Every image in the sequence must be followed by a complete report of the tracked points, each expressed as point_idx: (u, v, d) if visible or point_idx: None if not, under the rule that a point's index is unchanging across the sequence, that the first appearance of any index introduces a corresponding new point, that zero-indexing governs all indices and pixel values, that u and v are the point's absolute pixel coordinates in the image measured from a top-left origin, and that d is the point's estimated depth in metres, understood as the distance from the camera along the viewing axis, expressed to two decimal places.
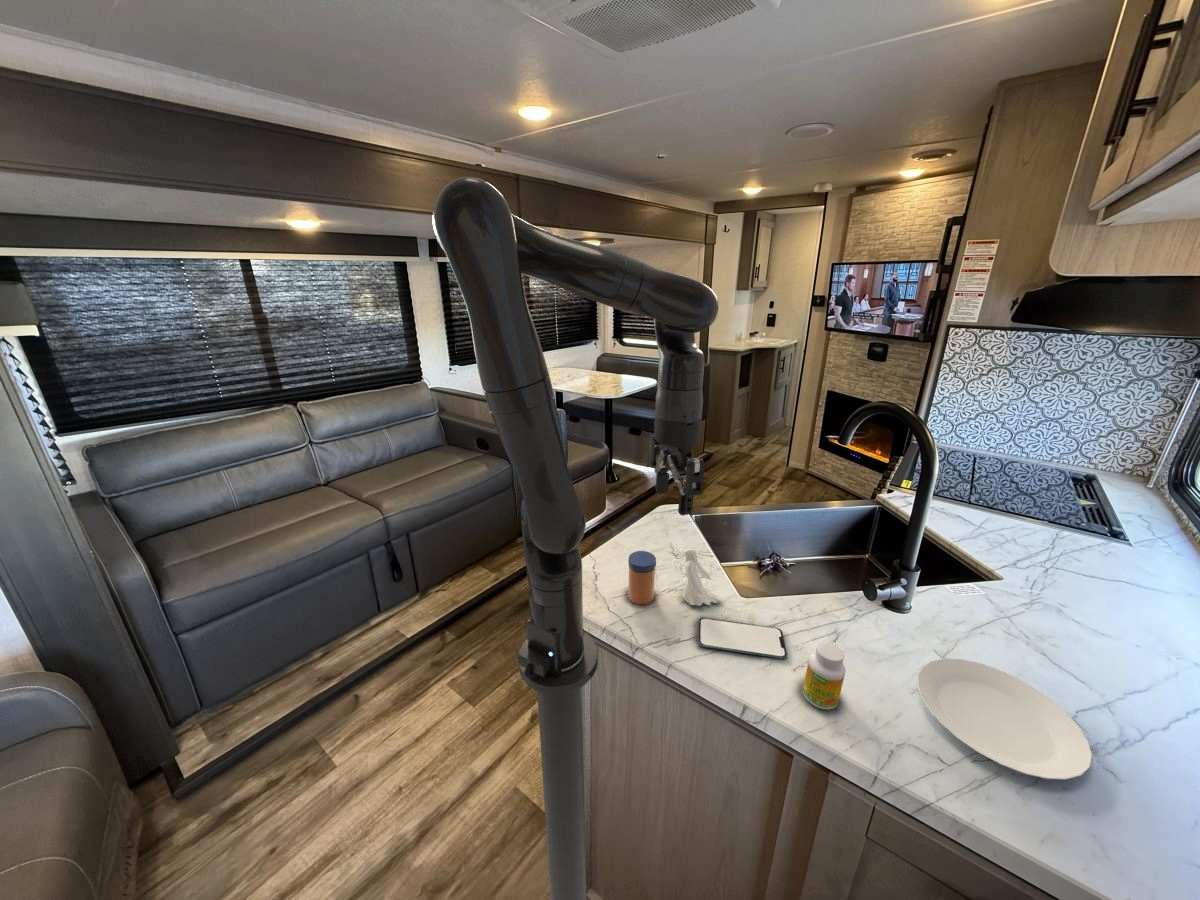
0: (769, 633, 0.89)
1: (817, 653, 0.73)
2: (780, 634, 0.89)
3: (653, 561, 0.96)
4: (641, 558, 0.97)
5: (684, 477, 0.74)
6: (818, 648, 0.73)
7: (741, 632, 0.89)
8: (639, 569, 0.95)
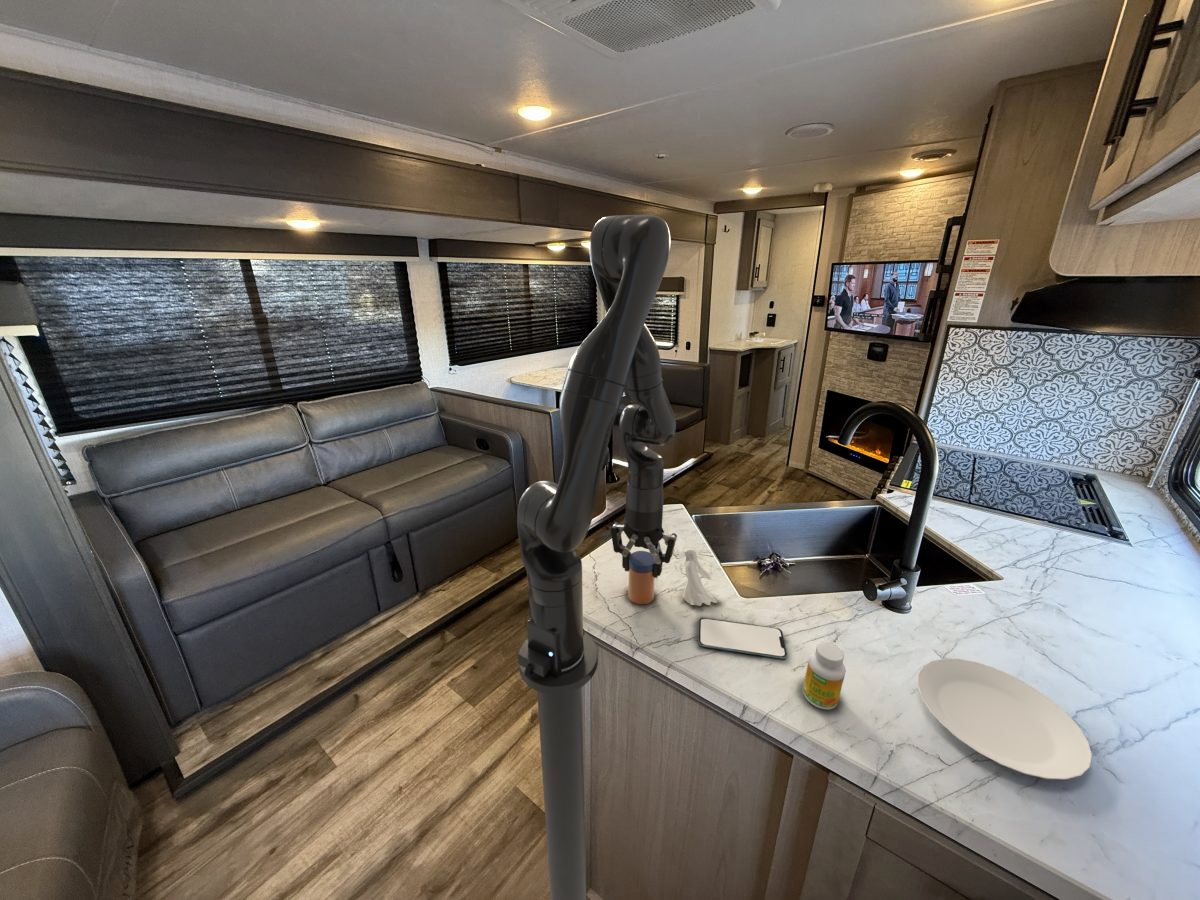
0: (769, 633, 0.89)
1: (817, 653, 0.73)
2: (780, 634, 0.89)
3: (653, 561, 0.96)
4: (641, 558, 0.97)
5: (657, 549, 0.95)
6: (818, 648, 0.73)
7: (741, 632, 0.89)
8: (639, 569, 0.95)
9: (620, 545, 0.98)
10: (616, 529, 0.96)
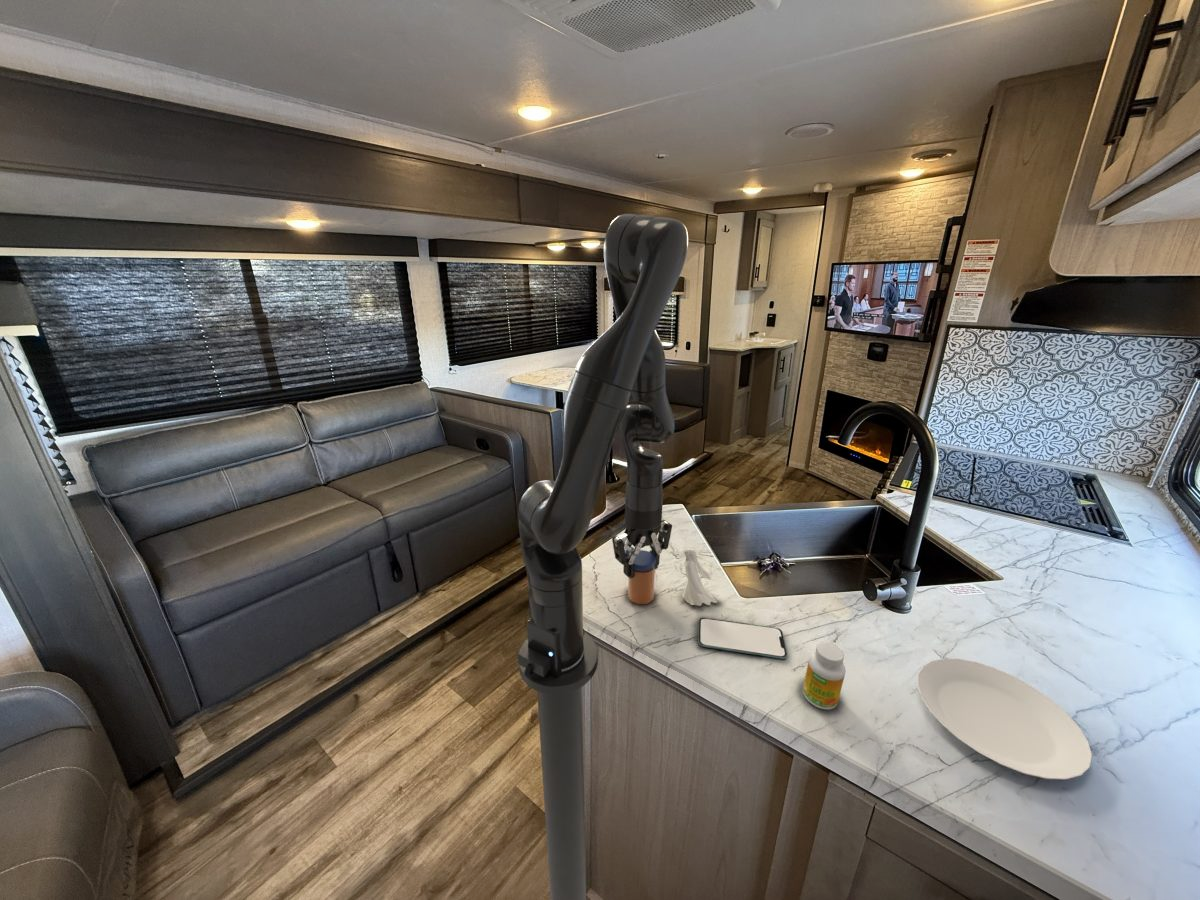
0: (769, 633, 0.89)
1: (817, 653, 0.73)
2: (780, 633, 0.89)
3: (652, 554, 0.98)
4: (641, 558, 0.97)
5: None
6: (818, 648, 0.73)
7: (741, 632, 0.89)
8: (651, 567, 0.95)
9: None
10: None
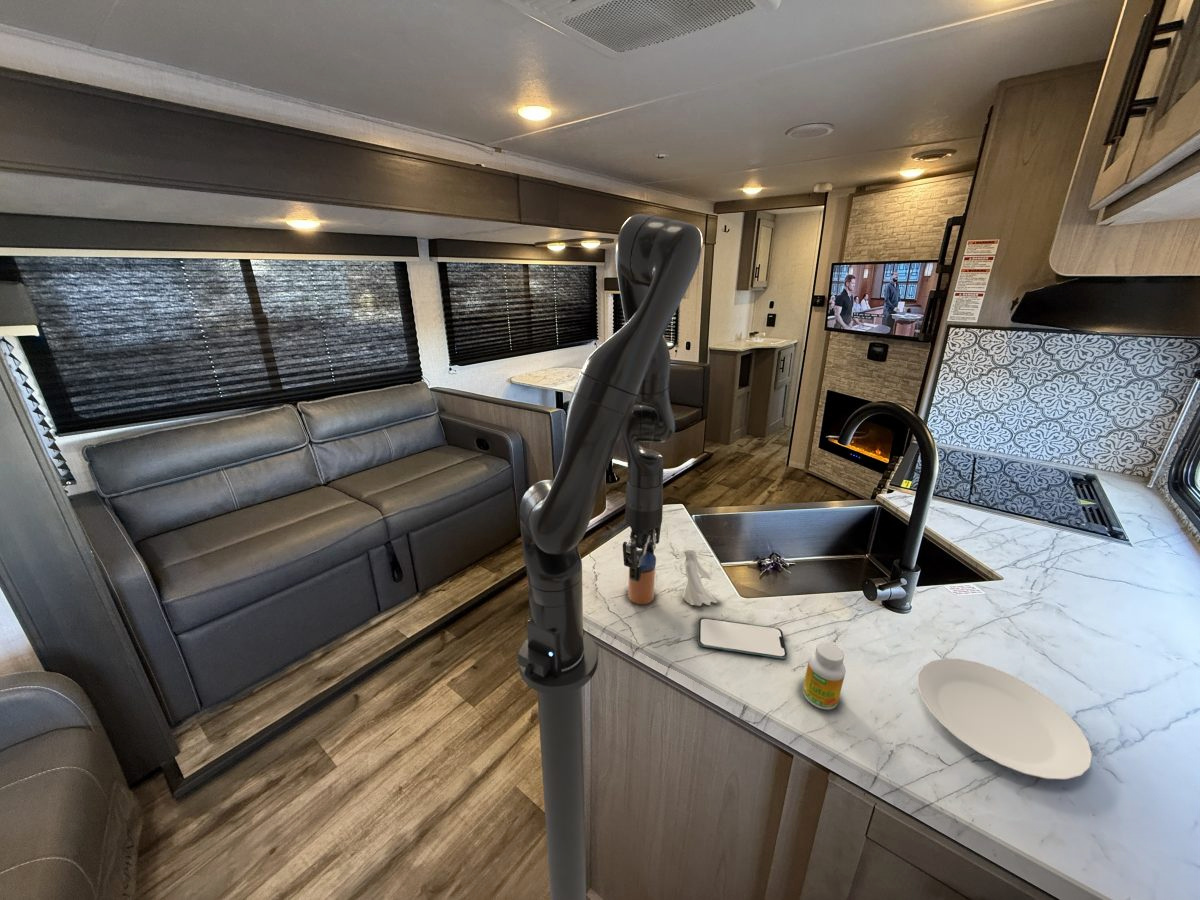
0: (769, 633, 0.89)
1: (817, 653, 0.73)
2: (780, 633, 0.89)
3: (648, 552, 0.99)
4: (642, 558, 0.97)
5: None
6: (818, 648, 0.73)
7: (741, 632, 0.89)
8: (655, 564, 0.96)
9: (630, 561, 0.92)
10: None
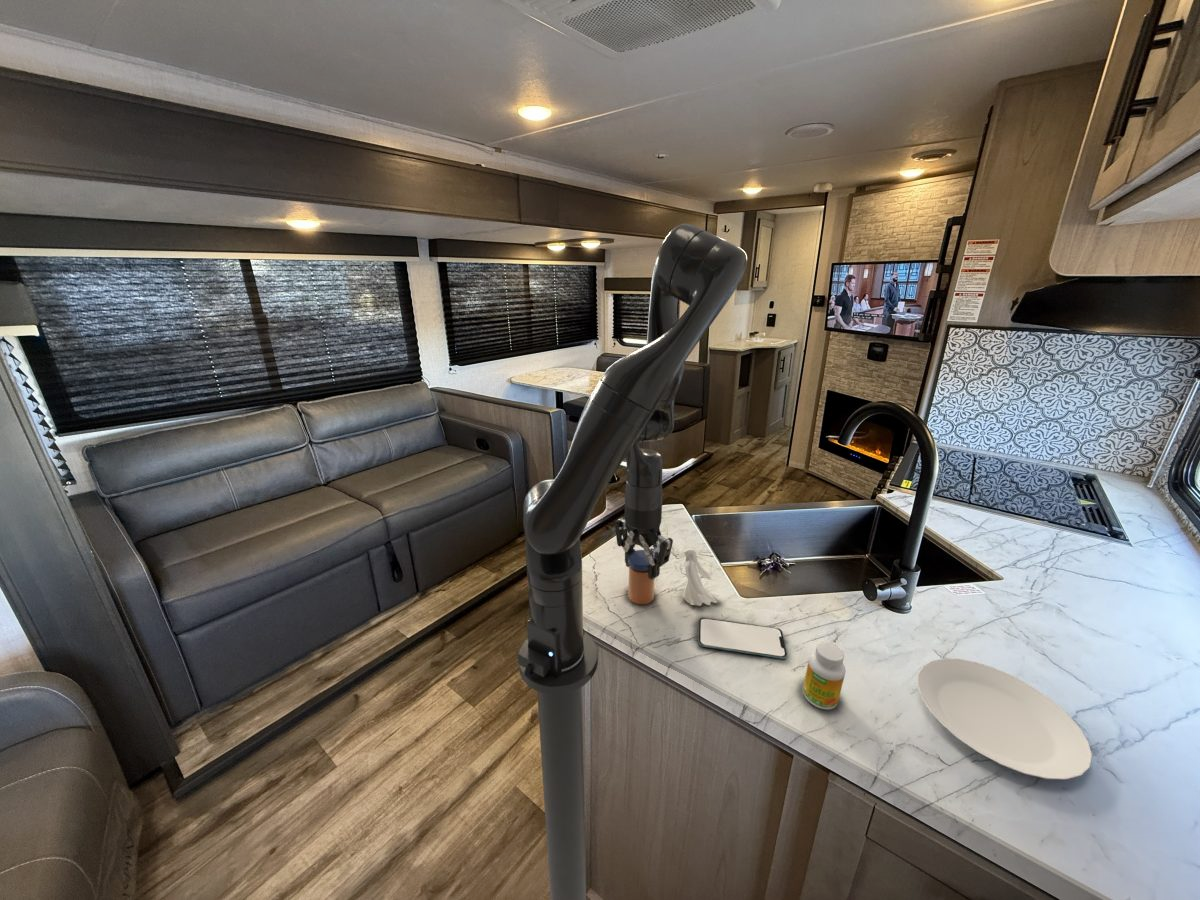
0: (769, 633, 0.89)
1: (817, 653, 0.73)
2: (780, 633, 0.89)
3: (633, 552, 0.99)
4: (642, 557, 0.97)
5: None
6: (818, 648, 0.73)
7: (741, 632, 0.89)
8: None
9: None
10: None
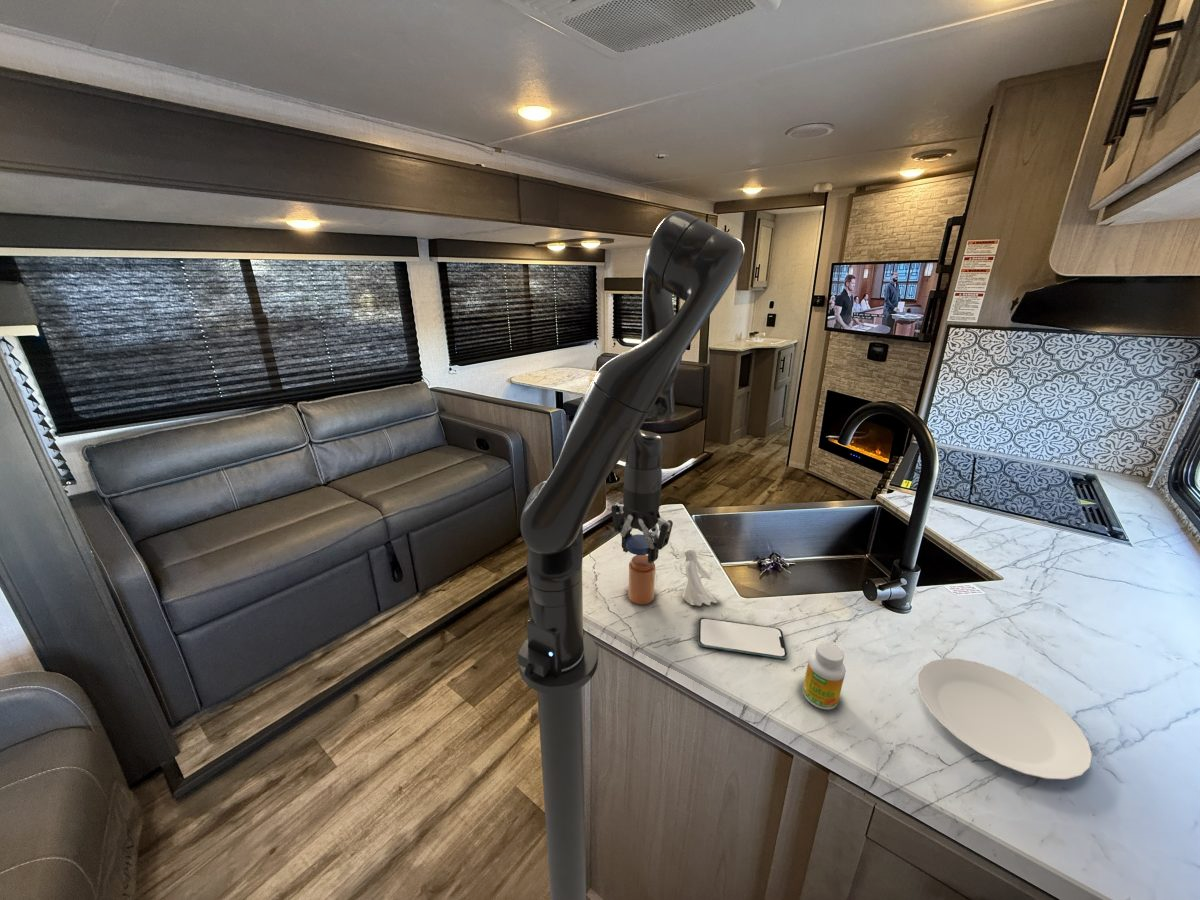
0: (769, 633, 0.89)
1: (817, 653, 0.73)
2: (780, 633, 0.89)
3: (630, 537, 0.98)
4: (640, 541, 0.96)
5: None
6: (818, 648, 0.73)
7: (741, 632, 0.89)
8: None
9: None
10: None
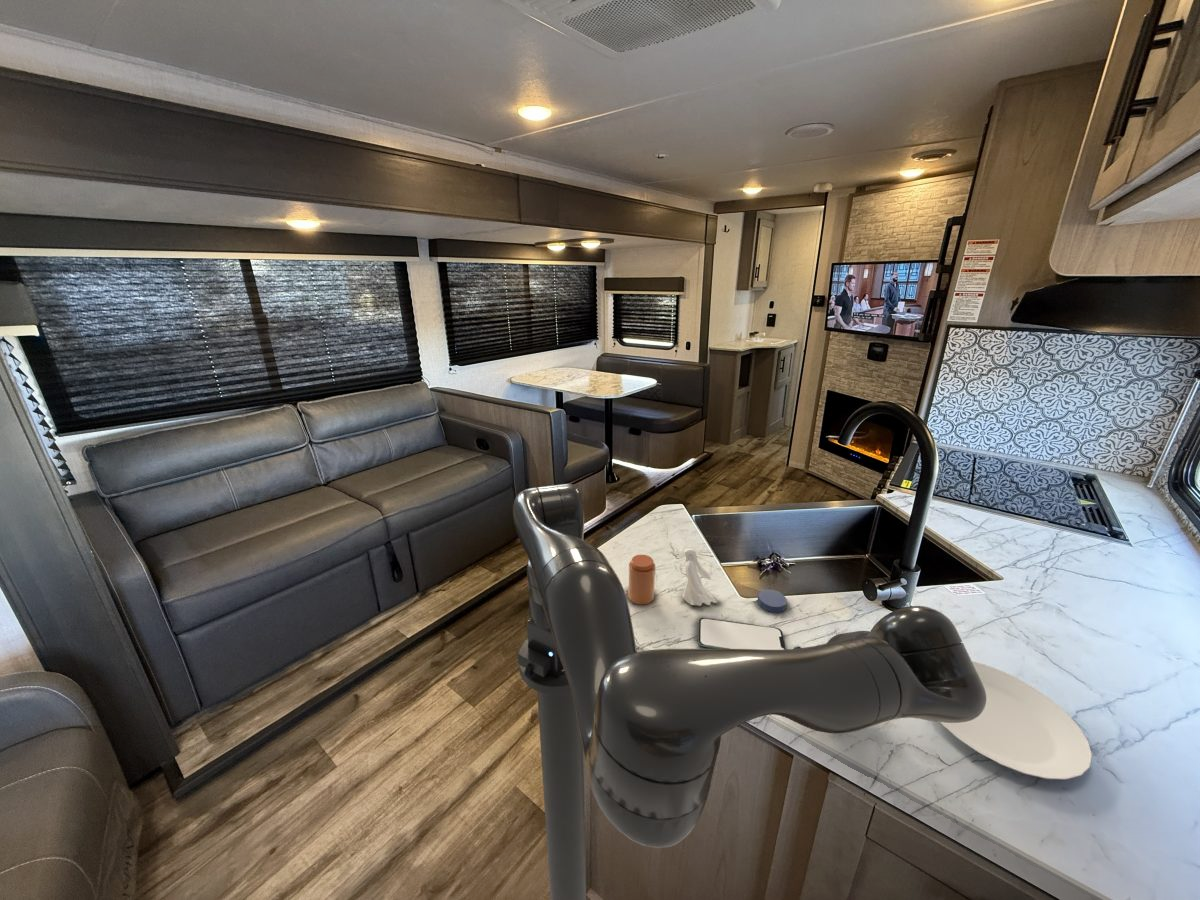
0: (769, 633, 0.89)
1: None
2: (780, 633, 0.89)
3: (761, 592, 0.99)
4: (773, 597, 0.98)
5: None
6: None
7: (741, 632, 0.89)
8: None
9: None
10: None
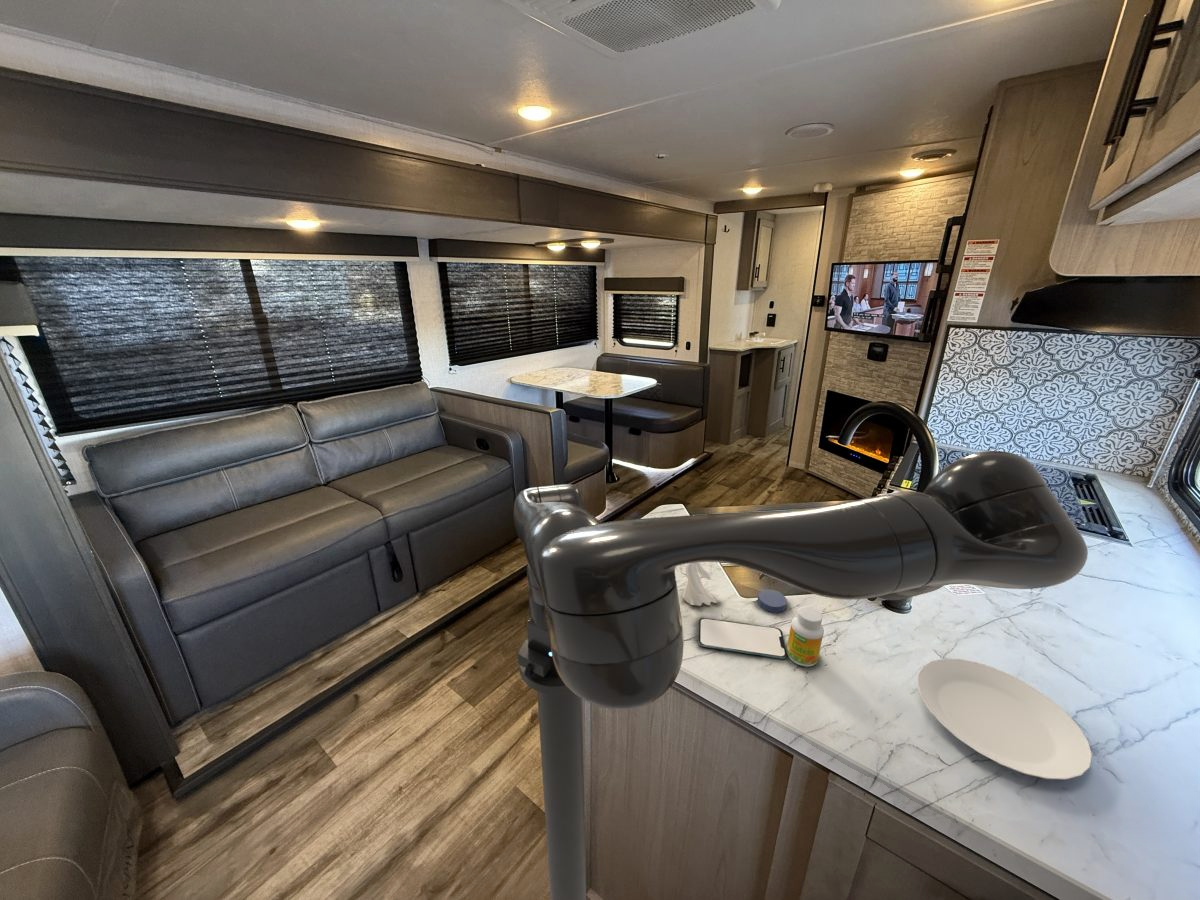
0: (769, 633, 0.89)
1: (798, 615, 0.81)
2: (780, 633, 0.89)
3: (761, 592, 0.99)
4: (773, 597, 0.98)
5: None
6: (799, 611, 0.82)
7: (741, 632, 0.89)
8: None
9: None
10: None
